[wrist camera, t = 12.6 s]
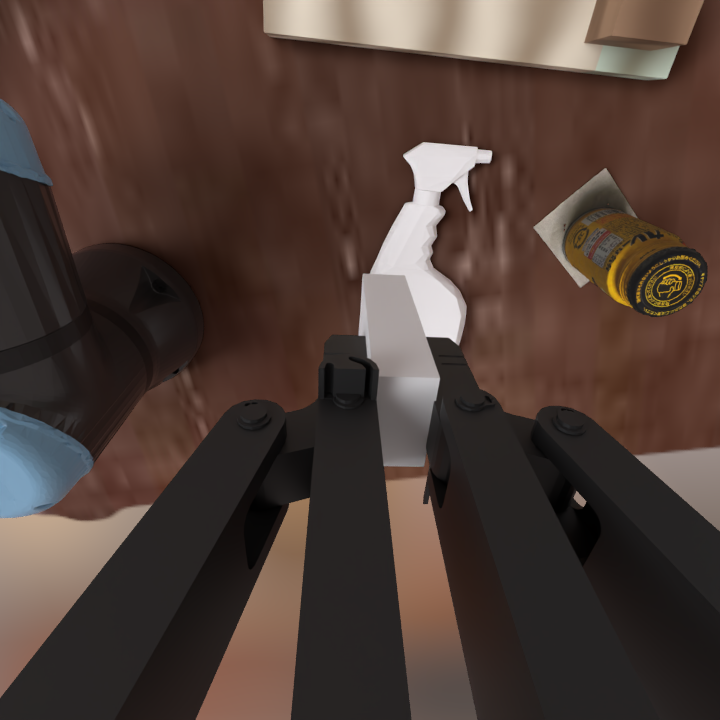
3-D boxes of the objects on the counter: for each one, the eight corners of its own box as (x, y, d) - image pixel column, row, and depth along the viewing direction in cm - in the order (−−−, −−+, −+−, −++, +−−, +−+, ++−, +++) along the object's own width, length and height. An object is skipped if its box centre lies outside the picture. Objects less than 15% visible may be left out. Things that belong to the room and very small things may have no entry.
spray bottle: (352, 373, 49) (380, 134, 37) (445, 381, 50) (503, 149, 37) (352, 387, 47) (381, 136, 34) (450, 396, 47) (514, 152, 35)
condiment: (579, 287, 43) (646, 344, 33) (532, 226, 40) (590, 269, 30) (648, 235, 40) (745, 281, 30) (603, 167, 37) (694, 191, 27)
